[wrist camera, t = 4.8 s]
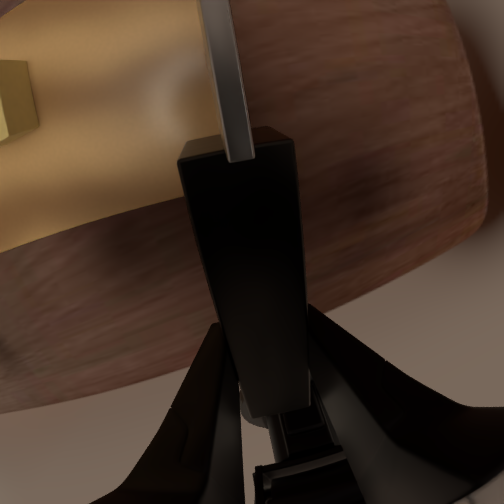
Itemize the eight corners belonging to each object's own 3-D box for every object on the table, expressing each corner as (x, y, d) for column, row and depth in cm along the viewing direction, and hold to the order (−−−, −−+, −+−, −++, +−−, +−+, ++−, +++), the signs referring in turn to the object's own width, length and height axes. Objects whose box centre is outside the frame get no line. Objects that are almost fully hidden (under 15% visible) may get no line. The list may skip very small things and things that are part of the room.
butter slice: (40, 126, 12) (9, 136, 9) (8, 143, 11) (-24, 157, 9) (26, 60, 10) (-6, 58, 7) (-6, 81, 9) (-38, 84, 7)
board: (238, 177, 16) (241, 183, 15) (-34, 261, 15) (-41, 270, 14) (192, -54, 9) (191, -64, 8) (-81, 102, 8) (-91, 104, 7)
